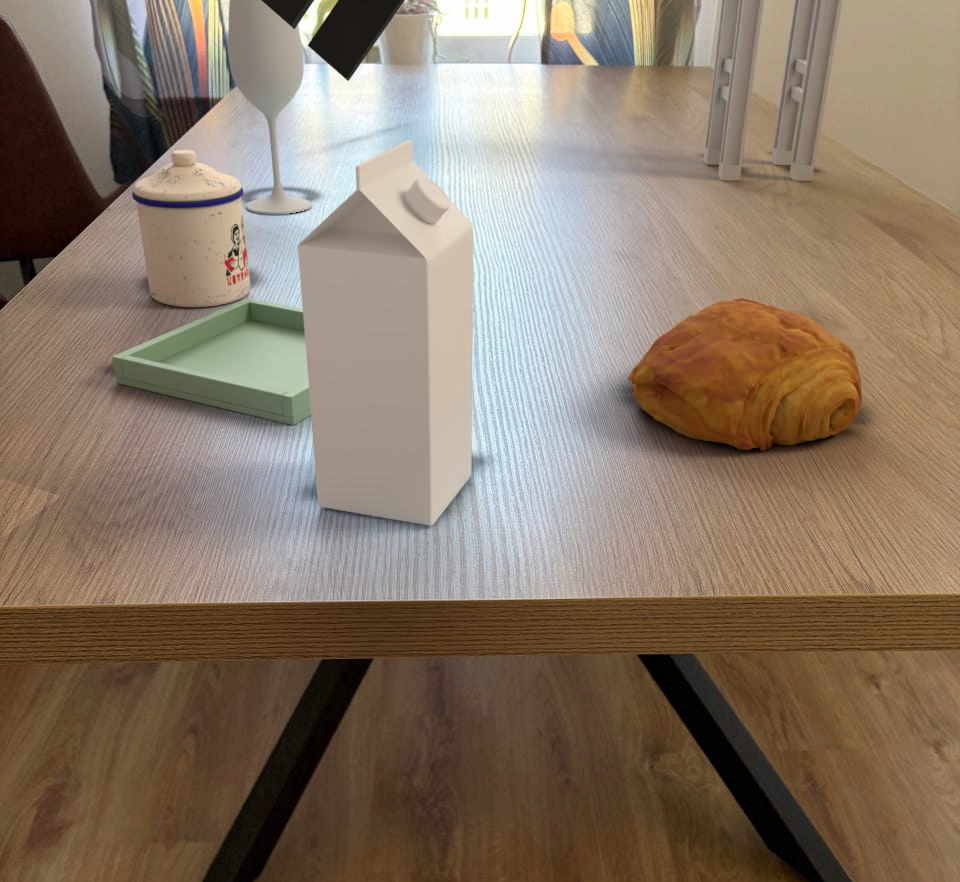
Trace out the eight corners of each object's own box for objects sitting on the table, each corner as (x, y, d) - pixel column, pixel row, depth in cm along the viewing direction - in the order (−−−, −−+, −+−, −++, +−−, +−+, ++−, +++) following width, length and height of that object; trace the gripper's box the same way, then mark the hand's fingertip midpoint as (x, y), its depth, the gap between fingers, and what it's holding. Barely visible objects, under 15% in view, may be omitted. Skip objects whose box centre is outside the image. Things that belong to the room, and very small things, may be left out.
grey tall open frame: (708, 184, 136) (750, -171, 117) (684, 158, 149) (719, -166, 129) (833, 184, 137) (896, -168, 117) (799, 158, 150) (851, -164, 130)
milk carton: (317, 509, 65) (289, 160, 54) (365, 460, 71) (349, 134, 60) (431, 529, 63) (426, 172, 52) (472, 477, 69) (475, 144, 58)
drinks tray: (116, 383, 81) (111, 356, 80) (249, 321, 92) (246, 297, 91) (293, 425, 75) (291, 397, 74) (412, 354, 86) (411, 329, 85)
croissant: (743, 388, 87) (751, 281, 83) (897, 434, 75) (914, 311, 71) (586, 416, 81) (588, 302, 78) (725, 471, 69) (734, 339, 65)
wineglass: (283, 218, 120) (264, -7, 109) (230, 208, 124) (206, -11, 112) (327, 204, 126) (313, -12, 114) (275, 195, 129) (256, -15, 117)
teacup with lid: (253, 307, 95) (238, 161, 89) (143, 312, 94) (120, 164, 88) (253, 267, 105) (240, 133, 99) (154, 271, 104) (134, 135, 97)
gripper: (667, -492, 39) (308, 38, 45) (626, -199, 63) (394, 123, 69) (502, -662, 38) (156, -95, 44) (523, -298, 62) (297, 37, 67)
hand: (301, 39), depth 56 cm, fingers open, 13 cm apart
